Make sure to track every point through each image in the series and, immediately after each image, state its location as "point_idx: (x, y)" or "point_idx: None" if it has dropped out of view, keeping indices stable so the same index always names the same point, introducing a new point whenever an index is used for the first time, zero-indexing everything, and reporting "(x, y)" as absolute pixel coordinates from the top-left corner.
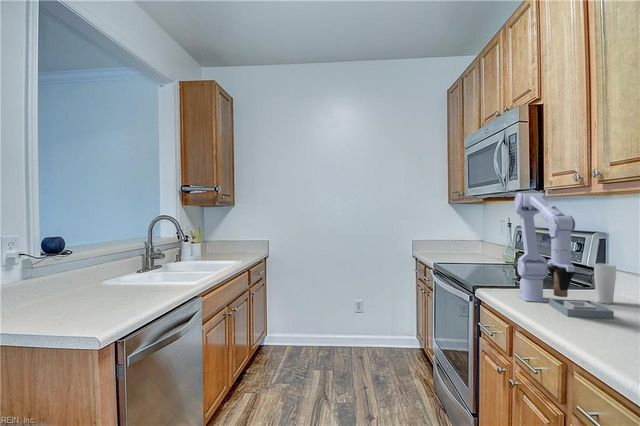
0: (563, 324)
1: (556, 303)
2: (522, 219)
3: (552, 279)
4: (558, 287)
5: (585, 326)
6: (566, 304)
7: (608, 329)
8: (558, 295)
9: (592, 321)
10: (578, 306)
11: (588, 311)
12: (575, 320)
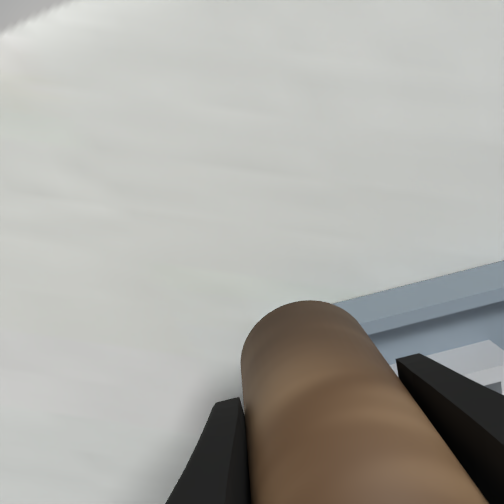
0: (27, 267)
1: (448, 298)
2: None
3: (485, 398)
4: (257, 398)
5: (57, 385)
6: (461, 363)
7: (62, 484)
8: (247, 341)
9: None
10: None
11: None
12: (177, 354)
